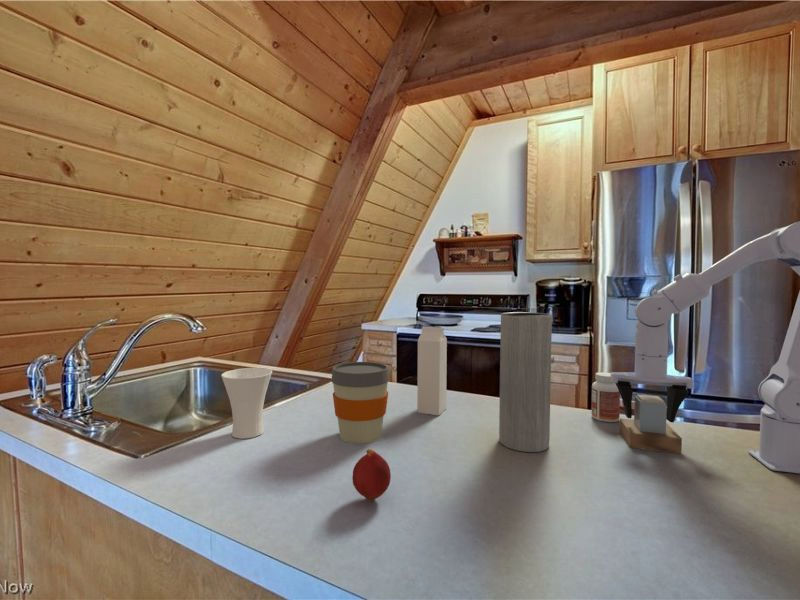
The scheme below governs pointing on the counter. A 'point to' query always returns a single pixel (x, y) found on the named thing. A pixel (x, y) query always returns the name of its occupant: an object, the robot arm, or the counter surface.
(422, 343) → the milk
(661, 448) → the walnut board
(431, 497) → the counter surface
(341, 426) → the reusable coffee cup
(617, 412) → the pill bottle
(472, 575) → the counter surface
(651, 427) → the blue block cream face
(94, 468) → the counter surface
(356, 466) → the onion
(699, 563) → the counter surface
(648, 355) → the robot arm
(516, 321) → the vase
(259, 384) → the cup
